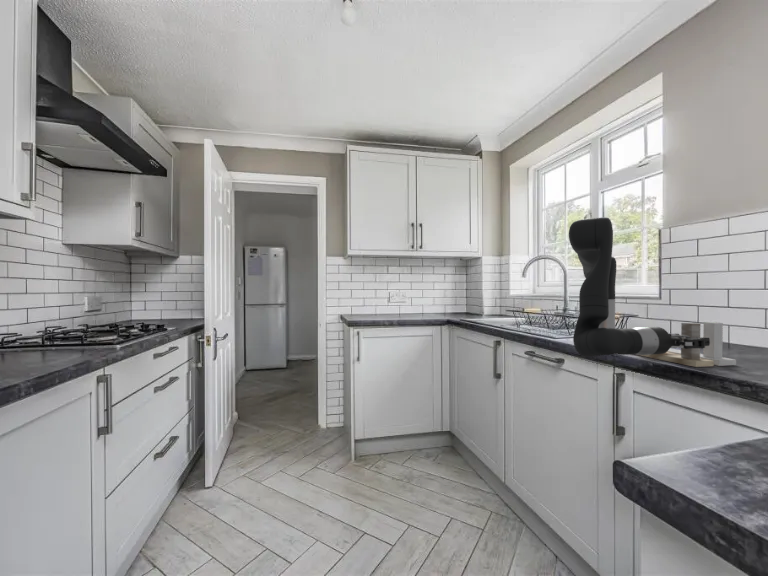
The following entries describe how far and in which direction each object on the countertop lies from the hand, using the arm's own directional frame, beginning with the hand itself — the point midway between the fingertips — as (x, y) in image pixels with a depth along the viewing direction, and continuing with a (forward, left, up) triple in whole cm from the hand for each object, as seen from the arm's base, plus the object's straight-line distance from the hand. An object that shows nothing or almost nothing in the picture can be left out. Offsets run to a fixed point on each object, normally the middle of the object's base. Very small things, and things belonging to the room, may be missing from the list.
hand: (692, 339), depth 110 cm
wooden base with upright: (-7, -1, -7) cm, 10 cm away
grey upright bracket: (-7, +7, -7) cm, 12 cm away
